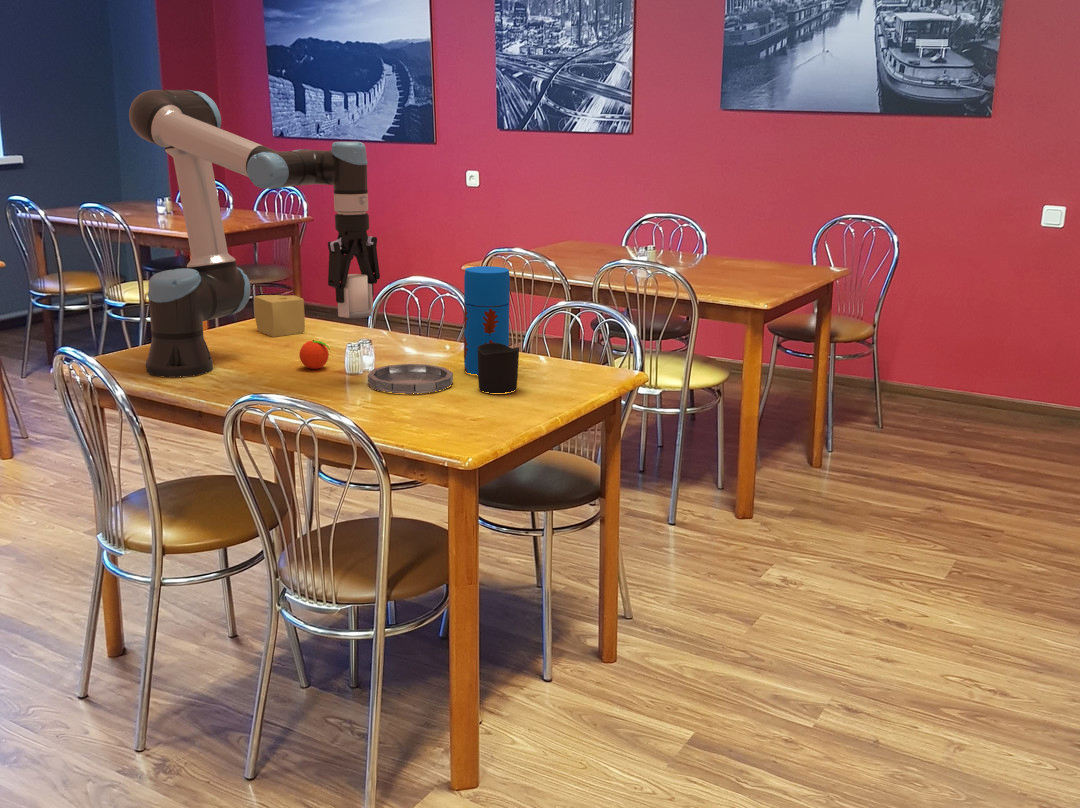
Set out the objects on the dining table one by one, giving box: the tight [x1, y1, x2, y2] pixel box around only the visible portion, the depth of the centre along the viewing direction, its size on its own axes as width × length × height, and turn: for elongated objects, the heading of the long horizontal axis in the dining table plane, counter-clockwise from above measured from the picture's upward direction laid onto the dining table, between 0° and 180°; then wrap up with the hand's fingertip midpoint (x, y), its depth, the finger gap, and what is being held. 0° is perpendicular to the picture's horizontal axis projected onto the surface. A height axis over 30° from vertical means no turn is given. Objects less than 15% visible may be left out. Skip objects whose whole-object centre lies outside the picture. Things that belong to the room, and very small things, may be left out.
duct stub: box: [343, 273, 372, 319], centre depth 251 cm, size 7×7×9 cm
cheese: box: [253, 294, 306, 338], centre depth 304 cm, size 10×11×10 cm
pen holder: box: [477, 343, 520, 393], centre depth 250 cm, size 9×9×10 cm
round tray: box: [367, 363, 454, 395], centre depth 255 cm, size 19×19×2 cm
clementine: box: [299, 339, 332, 370], centre depth 266 cm, size 8×7×7 cm
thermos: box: [463, 265, 511, 375], centre depth 264 cm, size 11×11×25 cm
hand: (355, 314), depth 252 cm, fingers closed on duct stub, 7 cm apart
